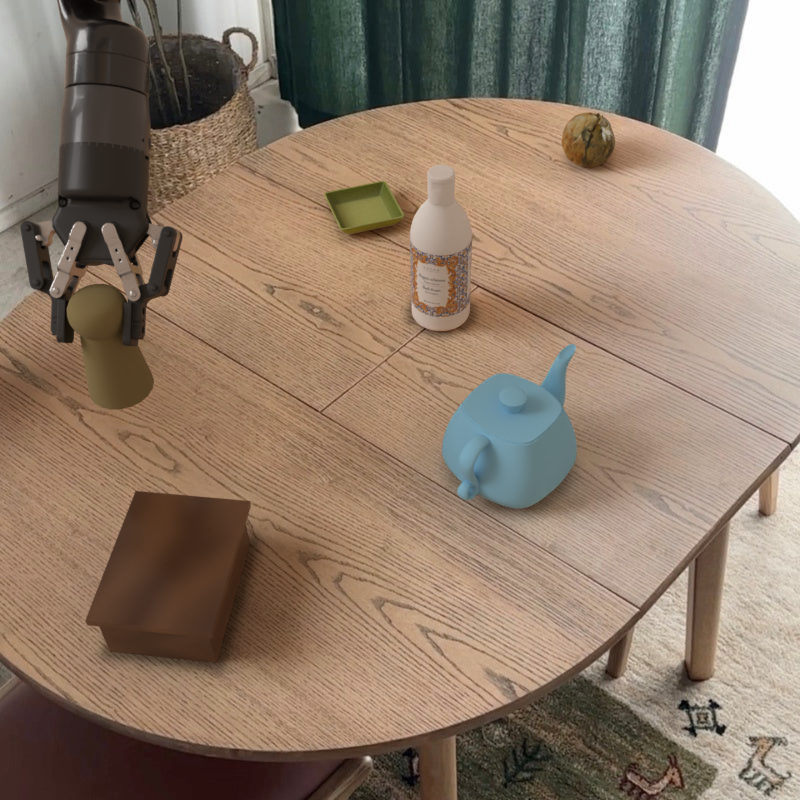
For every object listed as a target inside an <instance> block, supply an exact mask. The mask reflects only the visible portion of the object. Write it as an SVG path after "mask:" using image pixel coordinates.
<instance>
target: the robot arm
mask: <svg viewBox="0 0 800 800" xmlns="http://www.w3.org/2000/svg"><path fill="white" fill-rule="evenodd" d="M56 2H57V8H58V12H59V18H60V22H61V27H62V30H63V33H64V38H65V42H66V47H65V64H64V66H65V67H64V90H63V91H64V92H63V100H62V106H61V110H60V111H61V112H60V121H59V122H60V123H59V144H58V145H59V148H58V173H57V203H58V204H57V207H56V208H57V209H56V210H55V213H54V214H53V216H52V219H49V220H43V221H38V222H33V221H30V220H24V221H23V222H21V224H20V227H19V228H20V229H19V230H20V234H21V241H22V246H23V253H24V258H25V263H26V264H25V265H26V270H27V275H28V276H27V277H28V282H29V286H30V287H31V289H33V290H36V291H39V292H41V293H44V294H46V295H47V296H49V298H50V301H51V306H50V307H51V309H50V310H51V311H50V332H51V334H52V336H54V337H55V338H56V342H57V343H59V344H73V343H74V341H75V331H74V329H73V328H72V327H71V325H70V324H69V321H68V317H67V306H68V302H69V300H70V298H71V297H72V296H73V294H74V293H75V292H77V289H78V286H79V284H80V282H81V280H82V278H84V276H85V275H86V273H87V270H88V268H89V267H98V266H102V265H106V266H110V267H113V268H114V269H115V272H116V274H117V276H118V277H119V279H120V280H121V284H122V286H123V289H124V292H125V295H126V299H127V302H124V312H123V340H122V341H123V345H124V346H139V343H140V341H143V340H144V338H145V336H146V328H147V327H146V325H147V323H146V322H147V305H148V303H149V302H150V301H152V300H154V299H158V298H160V297H161V298H164V297H166V296H168V295H169V293H170V289H171V285H172V281H173V277H174V274H175V269H176V265H177V262H178V258H179V254H180V249H181V247H182V246H181V245H182V242H183V233H182V232H181V231H180V230H178V229H177V228H175V227H173V226H169V225H166V226H161V225H157V224H155V223H152V222H153V221H152V220H151V218H150V216H149V213H148V205H149V186H150V185H149V181H150V157H151V156H150V155H151V154H150V153H151V150H152V137H151V132H152V131H151V113H150V100H149V98H150V76H151V75H150V74H151V46H150V41H149V39H148V37H147V35H146V33H145V32H144V31H143V30H142V29H141V28H139V27H138V26H136V25H134V24H132V23H129V22H127V21H124V20H123V15H122V9H121V6H122V5H121V3H122V0H56ZM55 234H56V235H57V236H58V238H59V240H60V242H61V243H62V244H63V246H64V248H63V251H62V253H61V256H60V258H59V261H58V263H57V265H56V269H57V271H56V273H55V276H54V274H53V267H52V263H51V261H52V260H51V256H50V250H49V247H50V246H52V244H53V239H54V235H55ZM149 237H150V239H151V246H152V248H153V249H154V250H155V253H154V257H153V262H152V266H151V270H150V273H149V278H148V281H147V283H146V282H145V279H144V271H143V269H142V265H141V263H140V260H139V256H138V254H137V252H138V251H139V250H140V249H141V247H142V246H143V245H144V243H146V241H147V240H148V238H149Z"/></svg>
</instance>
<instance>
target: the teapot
mask: <svg viewBox="0 0 800 800" xmlns="http://www.w3.org/2000/svg"><path fill="white" fill-rule="evenodd" d="M576 351H577V346H576V344H574V343H570V344H568V345H566V346H564V348H562V349H561V350H560V351H559V352H558V353H557V356H556V357H555V359H554V360H553V362H552V364H551V366H550V368H549V370H548V372H547V373H546V375H545V377H544V379H543V380H542V382H541V383H540V385H539V384H537V383H536V382H533V381H531V380H529V379H527V378H524V377H521V376H519V375H515V374H512V373H506V372H500V373H496V374H495V373H494V374H493V375H491V376H489V377H488V378H486V379H485V380H483V381H482V382H481V383H480V384H478V386H477V387H475V388H474V389H472V391H470V393H469V394H468V395H467V396H466V397H465V399H464V400H463V401H462V402H461V403H460V405H459V406H458V407H457V408H456V410H455V411H454V413H453V415H451V417H450V420H449V421H448V424H447V426H446V427H445V428H446V429H445V431H444V433H443V434H444V435H443V437H442V438H443V439H442V444H441V454H442V455H441V456H442V458H443V461H444V463H445V465H446V466H447V468H448V470H449V471H450V472H451V473H452V474H453V475H454V476H455V477H456V478H457V479H458V480H459V481H460V484H459V485H458V487H457V495H458V497H459V498H460V499H461V500H464V501H471V500H473V499H475V498H476V496H477V495H478V496H480V498H481V497H482V498H483V499H485V500H487V501H490V502H491V503H494V504H496V505H500V506H503V507H505V508H510V509H526V508H529V507H531V506H534V505H536V504H537V503H539V502H540V501H542V500H544V499H545V498H546V497H547V496H548V495H550V493H552V492H553V491H554V490H556V488H557V487H559V486H560V484H562V482H563V481H564V480H565V479H566V477H567V476H568V474H569V473H570V471H571V470H572V468H573V467H574V465H575V463H576V460H577V454H578V446H577V437H576V433H575V429H574V426H573V424H572V421H571V419H570V417H569V415H568V413H567V411H566V410H565V408H564V405H565V401H566V393H567V392H566V384H567V383H566V379H567V371H568V367H569V365H570V362H571V361H572V358H573V357H574V354H576Z"/></svg>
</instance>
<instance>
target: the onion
mask: <svg viewBox="0 0 800 800" xmlns="http://www.w3.org/2000/svg"><path fill="white" fill-rule="evenodd" d="M560 142H561V146H562V151H563V153H564V154H565V156H566V158H567V159H568V160H569V161H570V162H572V163H573V164H574V165H576V166H578V167H581V168H589V169H590V168H595V167H598V166H600V165H602V164H605V163H606V162H608V160H609V159H610V158H611V156H612V155H613V153H614V150H615V149H616V135H615V133H614V130H613V128H612V124H611V122H610V121H609V120H608V119H607V118H606V117H605V116H604V115H601V114H600V112H598V113H596V112H591V111H590V112H587V111H585V112H581V113H578V114H576V115H574V116H573V117H572V118H571V119H569V121H568V122H567V123H566V124H565V126H564V129H563V132H562V135H561V141H560Z"/></svg>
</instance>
